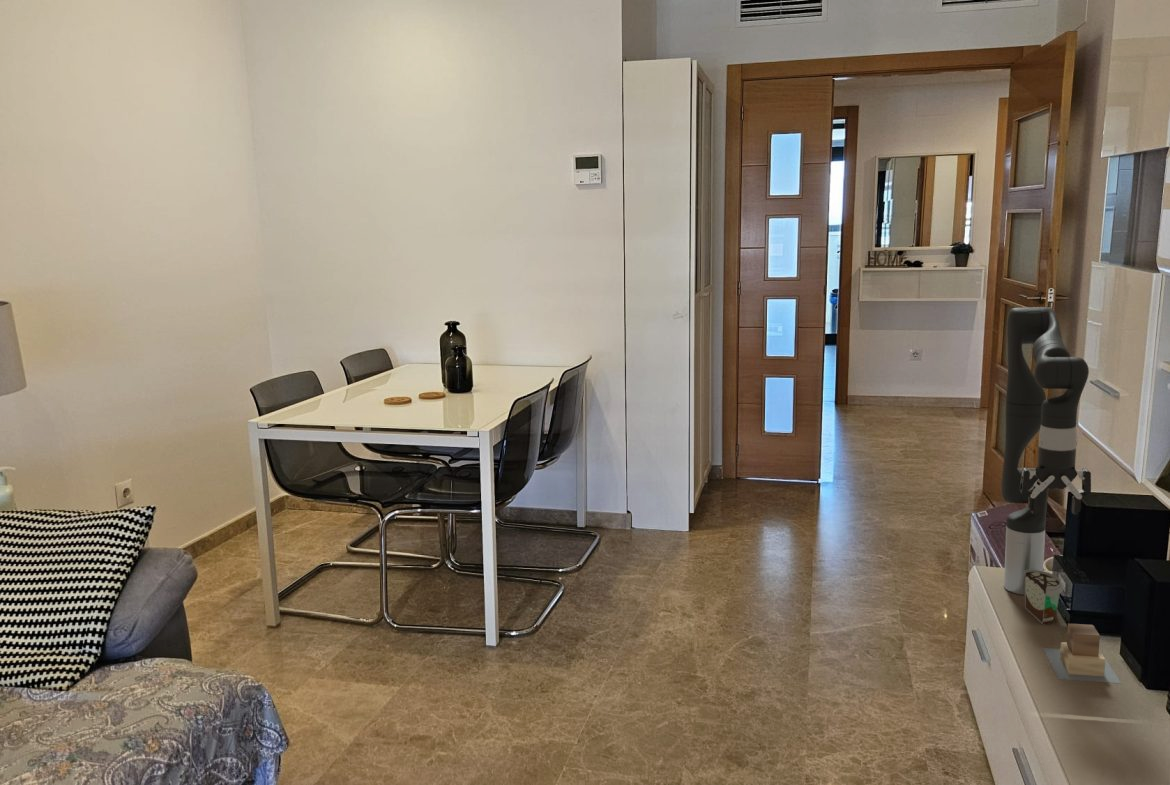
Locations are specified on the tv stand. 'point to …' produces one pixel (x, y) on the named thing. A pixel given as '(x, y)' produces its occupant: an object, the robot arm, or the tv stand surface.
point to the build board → (1063, 674)
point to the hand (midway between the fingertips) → (1053, 513)
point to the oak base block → (1082, 663)
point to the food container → (1042, 595)
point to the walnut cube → (1083, 640)
